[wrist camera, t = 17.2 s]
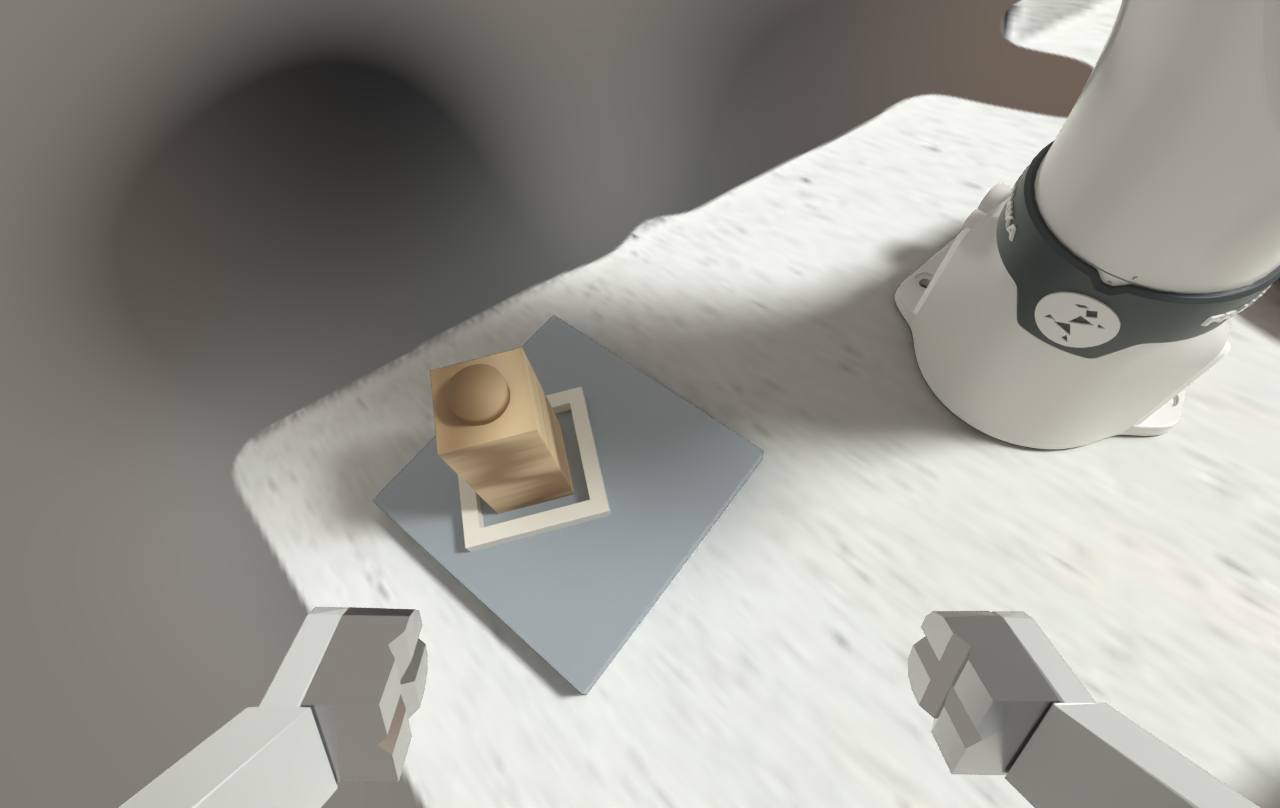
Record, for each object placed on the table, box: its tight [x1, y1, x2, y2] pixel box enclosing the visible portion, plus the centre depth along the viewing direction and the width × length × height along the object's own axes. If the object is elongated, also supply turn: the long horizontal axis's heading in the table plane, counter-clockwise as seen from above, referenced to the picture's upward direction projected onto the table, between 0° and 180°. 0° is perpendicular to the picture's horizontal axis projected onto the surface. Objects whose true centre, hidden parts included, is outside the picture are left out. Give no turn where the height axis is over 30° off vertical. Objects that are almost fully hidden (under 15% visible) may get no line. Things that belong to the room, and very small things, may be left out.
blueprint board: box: [373, 315, 764, 695], centre depth 40 cm, size 18×18×2 cm
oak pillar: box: [430, 347, 574, 514], centre depth 35 cm, size 5×5×11 cm
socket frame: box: [458, 387, 611, 552], centre depth 40 cm, size 9×9×1 cm
